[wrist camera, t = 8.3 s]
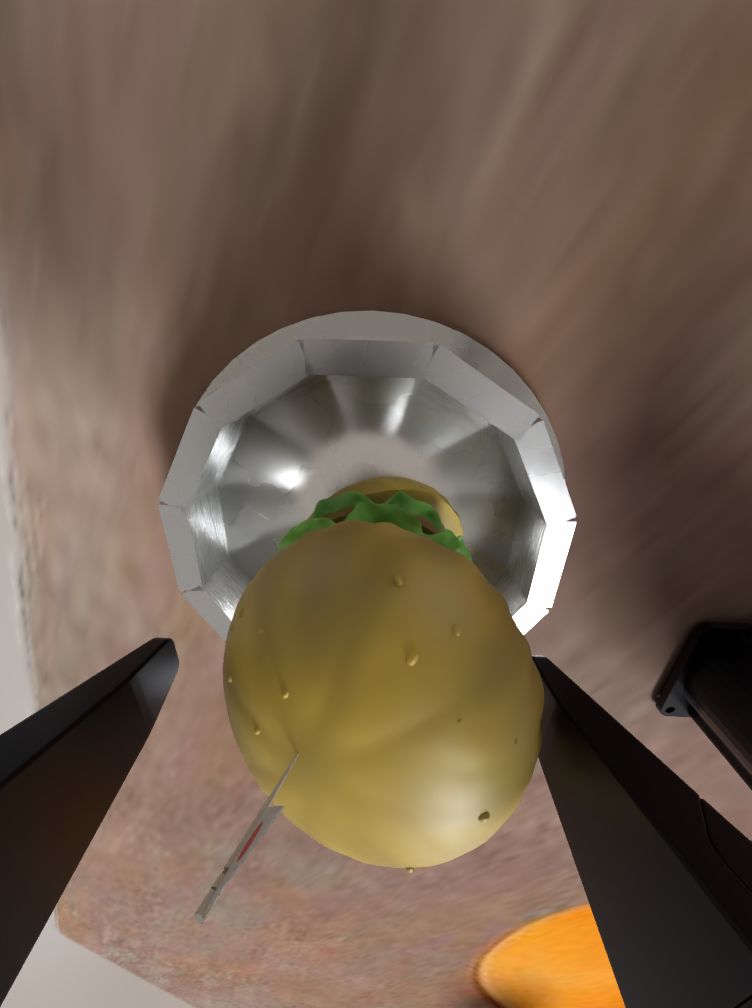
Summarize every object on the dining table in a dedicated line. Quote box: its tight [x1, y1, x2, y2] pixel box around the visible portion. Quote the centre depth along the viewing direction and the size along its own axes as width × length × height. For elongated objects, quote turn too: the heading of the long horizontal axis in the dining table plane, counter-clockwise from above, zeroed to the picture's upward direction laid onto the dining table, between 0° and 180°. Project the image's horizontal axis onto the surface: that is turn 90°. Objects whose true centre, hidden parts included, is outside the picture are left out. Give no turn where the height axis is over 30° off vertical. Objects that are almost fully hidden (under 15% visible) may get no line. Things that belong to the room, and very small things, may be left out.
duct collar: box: [158, 310, 577, 642], centre depth 15 cm, size 17×17×3 cm
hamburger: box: [194, 477, 544, 924], centre depth 10 cm, size 8×7×12 cm
